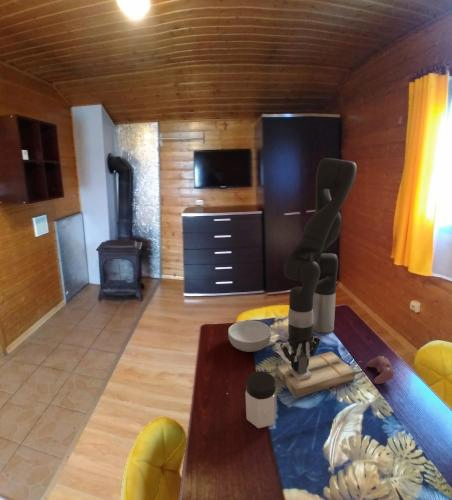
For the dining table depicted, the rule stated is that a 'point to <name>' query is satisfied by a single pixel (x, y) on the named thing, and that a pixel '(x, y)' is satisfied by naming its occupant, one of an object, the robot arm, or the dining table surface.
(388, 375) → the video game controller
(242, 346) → the cereal bowl
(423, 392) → the dining table surface
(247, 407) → the jar
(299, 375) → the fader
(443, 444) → the dining table surface
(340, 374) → the tan flat block
